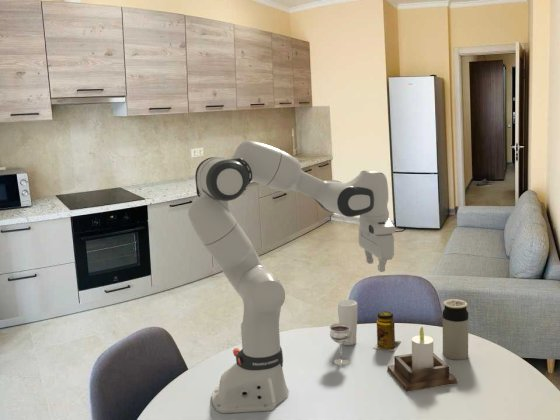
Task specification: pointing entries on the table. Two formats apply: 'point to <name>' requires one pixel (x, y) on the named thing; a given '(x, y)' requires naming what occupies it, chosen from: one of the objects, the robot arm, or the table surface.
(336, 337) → the wineglass
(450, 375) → the candle holder
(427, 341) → the candle
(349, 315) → the drinking glass
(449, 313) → the travel mug
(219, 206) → the robot arm
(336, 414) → the table surface
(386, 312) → the condiment
